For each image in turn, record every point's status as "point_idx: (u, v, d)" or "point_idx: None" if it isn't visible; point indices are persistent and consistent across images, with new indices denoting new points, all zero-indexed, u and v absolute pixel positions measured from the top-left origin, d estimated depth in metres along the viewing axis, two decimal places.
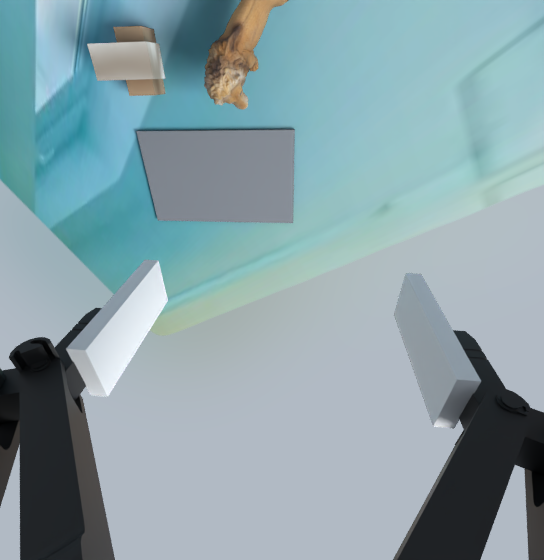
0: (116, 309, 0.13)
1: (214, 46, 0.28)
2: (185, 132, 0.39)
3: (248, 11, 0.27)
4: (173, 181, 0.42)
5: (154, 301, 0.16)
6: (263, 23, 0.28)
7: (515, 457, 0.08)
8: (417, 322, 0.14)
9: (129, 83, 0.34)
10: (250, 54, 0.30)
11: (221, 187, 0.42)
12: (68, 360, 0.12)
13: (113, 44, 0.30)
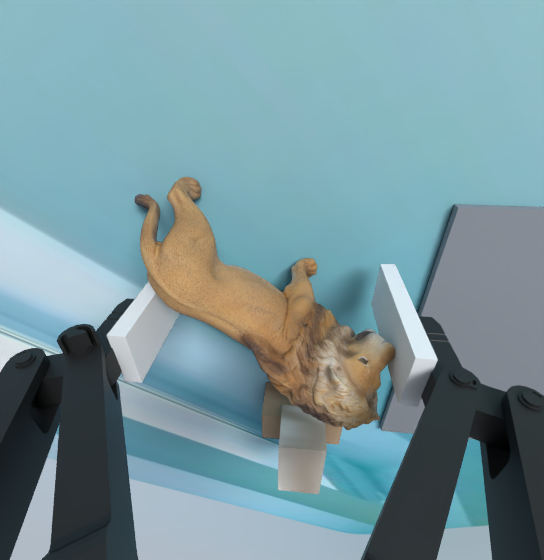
0: (149, 299, 0.14)
1: None
2: None
3: (222, 321, 0.14)
4: None
5: None
6: (241, 287, 0.14)
7: (469, 428, 0.09)
8: (388, 309, 0.14)
9: None
10: (291, 310, 0.14)
11: (521, 353, 0.20)
12: (107, 347, 0.12)
13: (280, 472, 0.21)
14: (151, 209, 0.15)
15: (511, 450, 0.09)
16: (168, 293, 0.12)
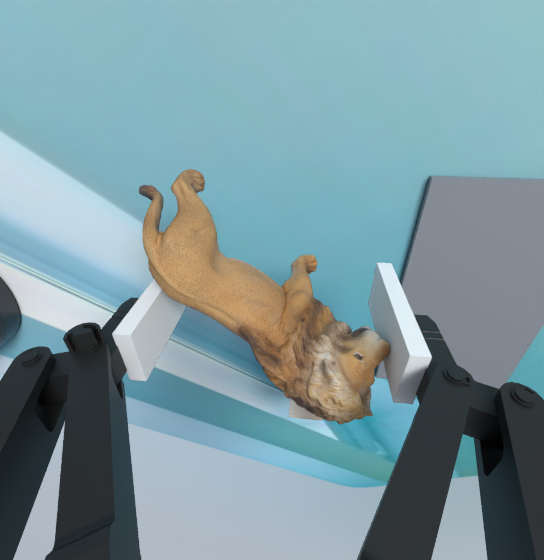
0: (153, 298, 0.14)
1: None
2: None
3: (220, 313, 0.14)
4: None
5: None
6: (240, 280, 0.14)
7: (463, 424, 0.09)
8: (384, 307, 0.14)
9: None
10: (289, 305, 0.15)
11: (489, 302, 0.25)
12: (112, 345, 0.12)
13: None
14: (155, 199, 0.15)
15: (504, 447, 0.09)
16: (168, 282, 0.13)
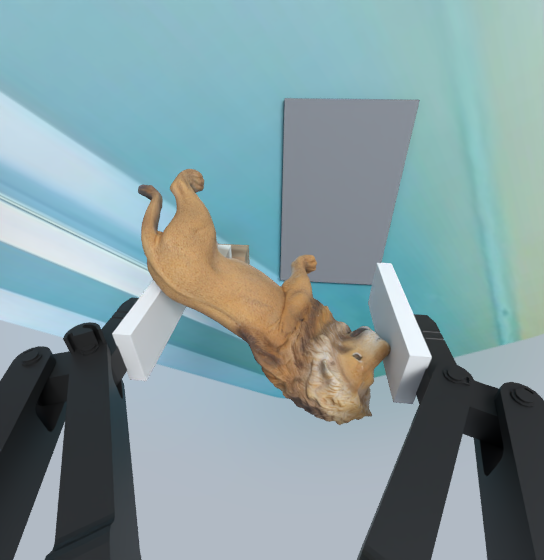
0: (153, 298, 0.14)
1: None
2: (282, 234, 0.36)
3: (219, 313, 0.14)
4: (333, 257, 0.37)
5: None
6: (239, 280, 0.14)
7: (463, 424, 0.09)
8: (384, 307, 0.14)
9: None
10: (289, 305, 0.15)
11: (347, 204, 0.33)
12: (112, 345, 0.12)
13: None
14: (154, 199, 0.15)
15: (504, 447, 0.09)
16: (167, 282, 0.13)
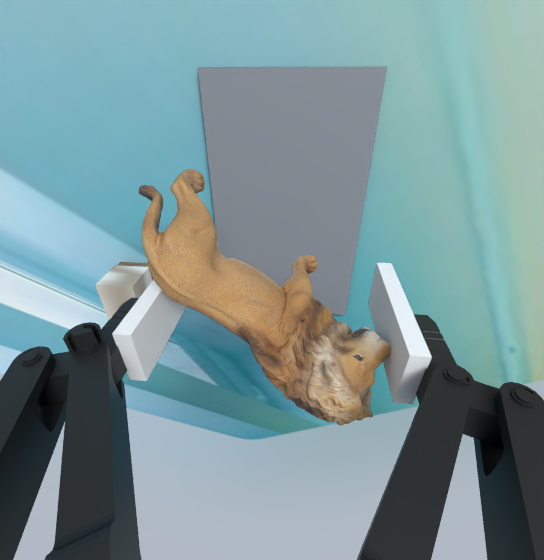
0: (153, 298, 0.14)
1: None
2: (220, 252, 0.28)
3: (220, 313, 0.14)
4: None
5: None
6: (240, 280, 0.14)
7: (463, 424, 0.09)
8: (384, 307, 0.14)
9: None
10: (289, 305, 0.15)
11: (299, 214, 0.25)
12: (112, 345, 0.12)
13: (109, 317, 0.26)
14: (154, 200, 0.15)
15: (504, 446, 0.09)
16: (167, 283, 0.13)
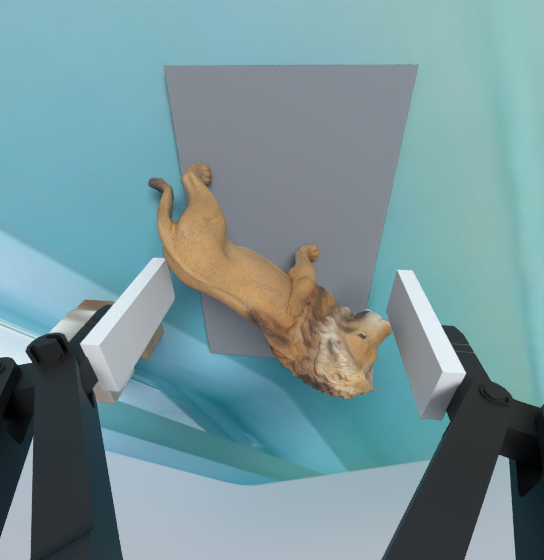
0: (127, 305, 0.13)
1: None
2: None
3: (231, 297, 0.15)
4: None
5: (162, 298, 0.17)
6: (250, 266, 0.15)
7: (499, 446, 0.08)
8: (407, 317, 0.14)
9: None
10: (296, 290, 0.15)
11: None
12: (81, 355, 0.12)
13: None
14: (166, 191, 0.16)
15: None
16: (183, 268, 0.13)
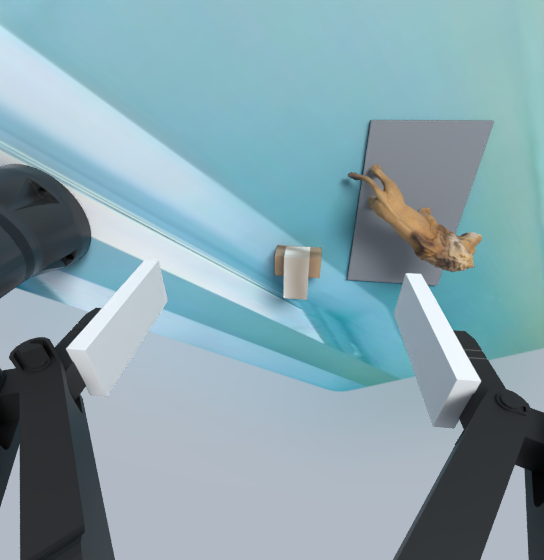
0: (116, 309, 0.13)
1: (423, 257, 0.33)
2: (354, 238, 0.40)
3: (405, 225, 0.32)
4: (399, 260, 0.41)
5: (154, 301, 0.16)
6: (413, 211, 0.32)
7: (515, 457, 0.08)
8: (417, 322, 0.14)
9: (311, 275, 0.41)
10: (432, 223, 0.32)
11: None
12: (68, 360, 0.12)
13: (284, 280, 0.38)
14: (368, 177, 0.33)
15: None
16: (390, 209, 0.31)
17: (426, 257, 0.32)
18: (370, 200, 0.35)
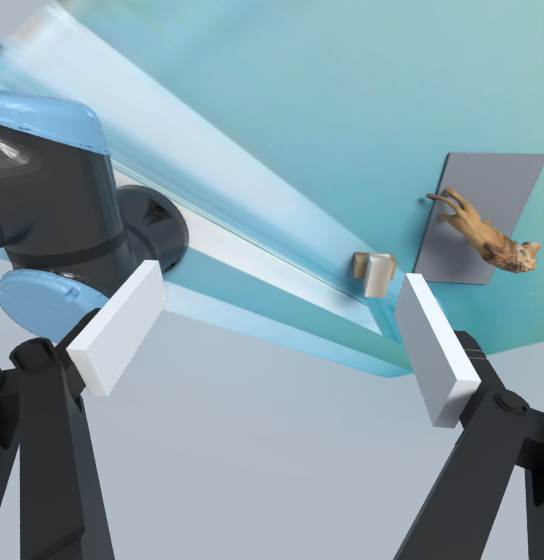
0: (116, 309, 0.13)
1: (492, 261, 0.41)
2: (423, 246, 0.48)
3: (479, 237, 0.40)
4: (458, 263, 0.49)
5: (154, 301, 0.16)
6: (485, 225, 0.40)
7: (515, 457, 0.08)
8: (417, 322, 0.14)
9: None
10: (499, 235, 0.41)
11: None
12: (68, 360, 0.12)
13: (368, 282, 0.46)
14: (447, 199, 0.41)
15: None
16: (470, 225, 0.39)
17: (495, 262, 0.40)
18: (444, 216, 0.43)
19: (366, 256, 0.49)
